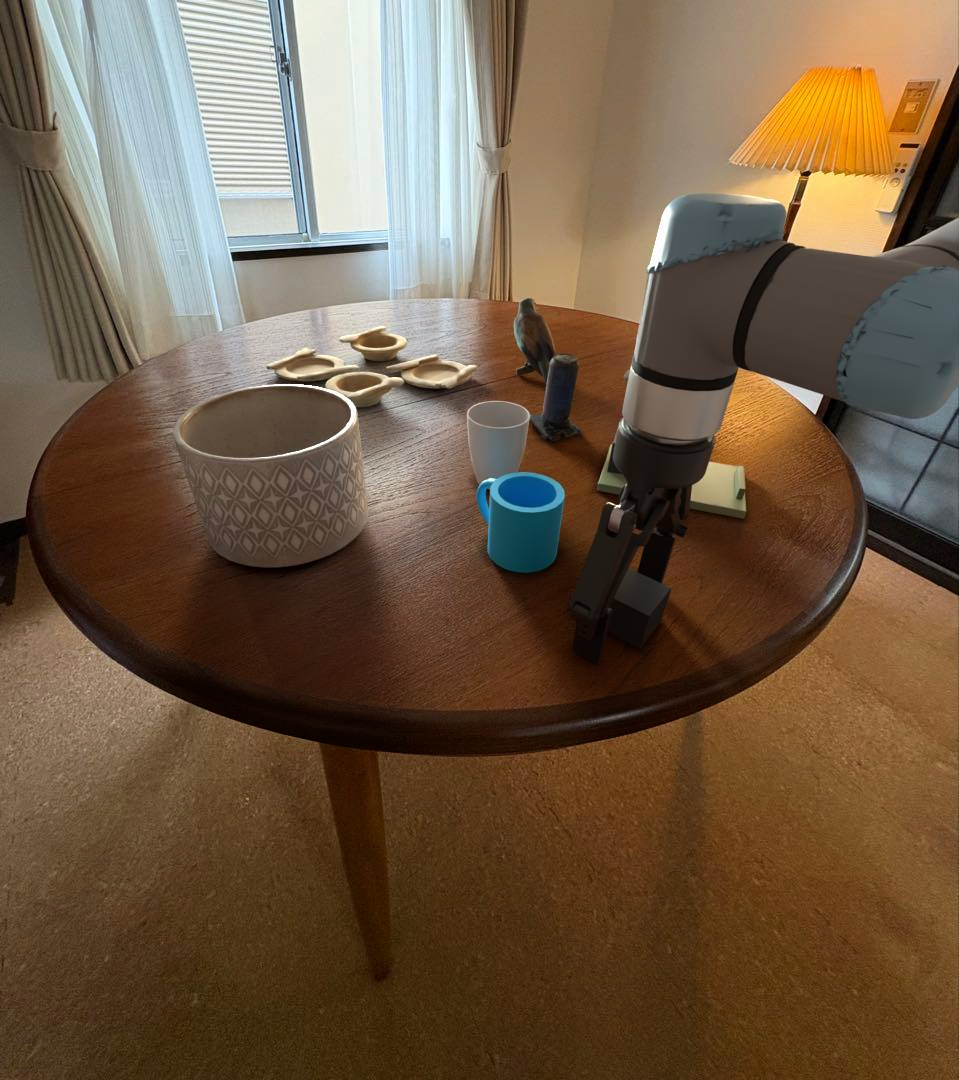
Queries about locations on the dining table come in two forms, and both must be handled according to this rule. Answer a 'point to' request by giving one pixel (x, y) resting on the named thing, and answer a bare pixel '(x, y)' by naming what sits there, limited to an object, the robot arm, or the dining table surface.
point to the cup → (496, 438)
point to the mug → (522, 520)
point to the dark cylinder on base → (558, 398)
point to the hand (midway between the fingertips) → (619, 615)
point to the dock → (694, 487)
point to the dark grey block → (637, 608)
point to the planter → (275, 473)
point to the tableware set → (370, 385)
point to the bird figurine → (533, 339)
